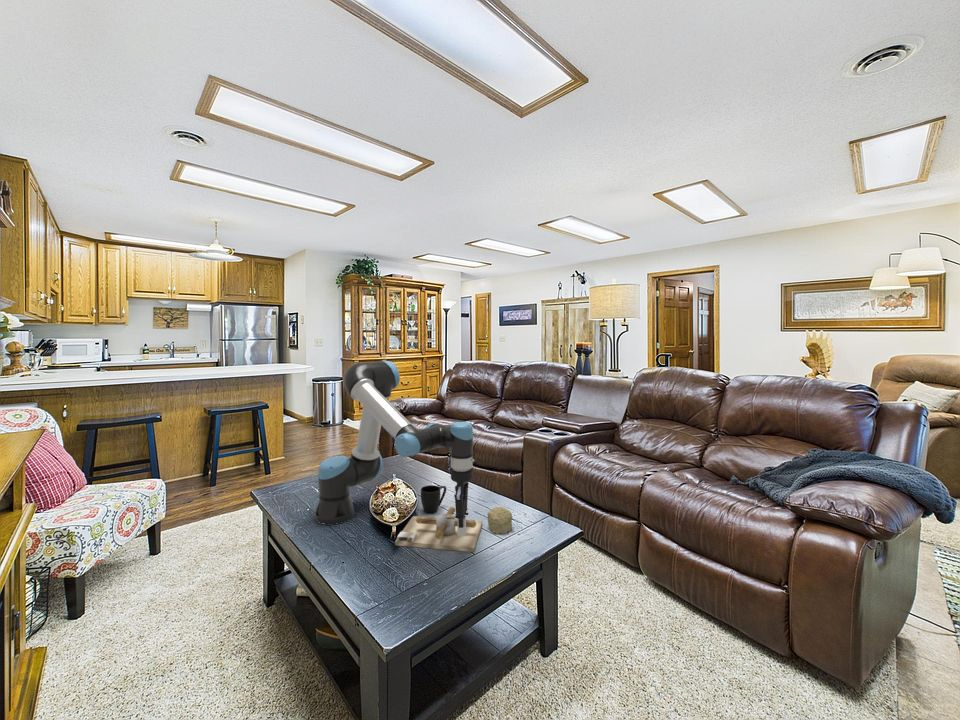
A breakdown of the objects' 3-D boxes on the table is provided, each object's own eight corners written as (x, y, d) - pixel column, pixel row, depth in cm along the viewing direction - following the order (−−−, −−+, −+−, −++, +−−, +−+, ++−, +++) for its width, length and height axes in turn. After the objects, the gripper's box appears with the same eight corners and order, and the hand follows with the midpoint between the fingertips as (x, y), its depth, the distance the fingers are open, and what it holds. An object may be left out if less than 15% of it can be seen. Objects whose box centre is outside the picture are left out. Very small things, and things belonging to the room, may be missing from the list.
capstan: (406, 544, 142) (406, 528, 142) (424, 515, 164) (424, 501, 164) (470, 549, 139) (470, 533, 138) (480, 519, 161) (480, 505, 160)
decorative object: (514, 538, 157) (516, 511, 162) (506, 533, 149) (509, 505, 154) (491, 535, 161) (494, 509, 166) (482, 531, 153) (485, 503, 158)
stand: (395, 545, 144) (394, 537, 144) (412, 519, 164) (412, 512, 164) (473, 552, 140) (473, 544, 140) (482, 525, 160) (482, 517, 160)
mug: (451, 509, 174) (451, 487, 174) (427, 517, 167) (427, 494, 166) (440, 502, 181) (440, 481, 180) (417, 510, 173) (416, 488, 172)
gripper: (469, 475, 134) (469, 545, 135) (475, 462, 147) (475, 526, 148) (446, 473, 135) (446, 543, 136) (455, 461, 148) (455, 525, 149)
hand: (461, 534), depth 142 cm, fingers closed
